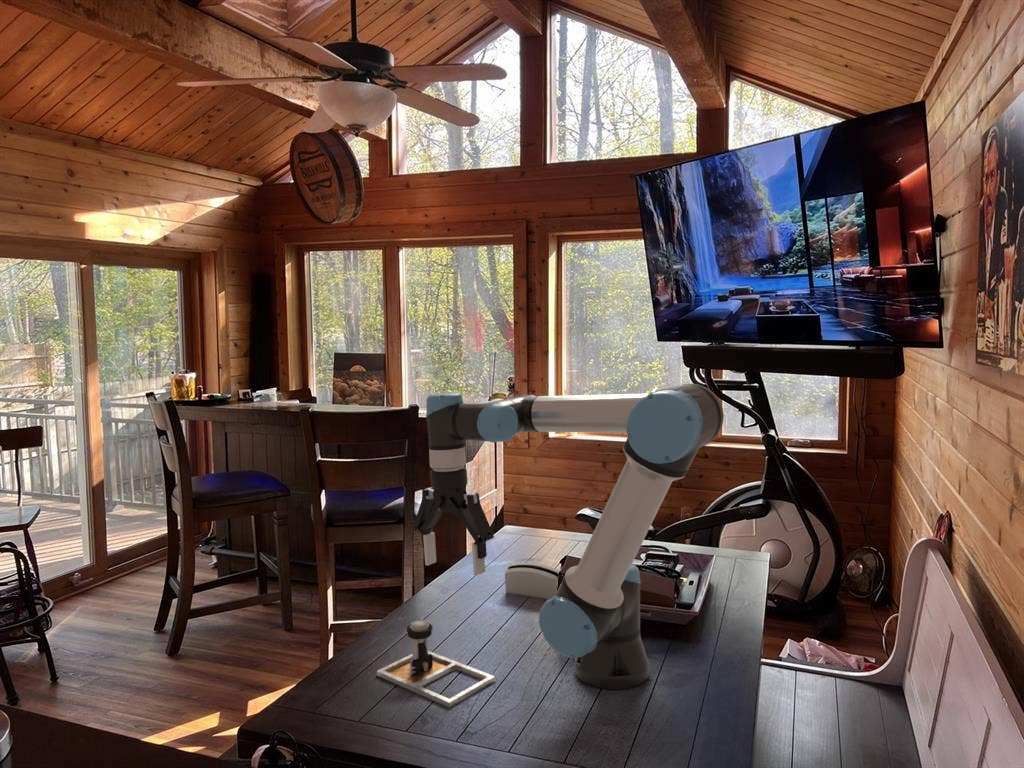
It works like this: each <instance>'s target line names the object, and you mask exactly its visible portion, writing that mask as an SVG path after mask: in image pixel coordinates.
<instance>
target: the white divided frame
mask: <svg viewBox="0 0 1024 768" xmlns="http://www.w3.org/2000/svg"><path fill="white" fill-rule="evenodd" d="M428 654H431V655H432V659H433V666H432V667H431V668H430V667H429V668H428V670H426V671H422V672H420V673H419V674H415V673H413V674H411V673H409V672H410V671H408V670H407V669H409V668H410V660H411V659H413V653H411V654H409V655H406V656H405V657H403V658H401V659H398V660H396V661H394V662H393V663H390V664H388V665H386V666H384V667H382V668H380V669H378V670H376V676H377V677H379V678H382V679H383V680H386V681H388V682H390V683H393V684H395V685H398V686H400V687H402V688H404V689H407V690H408V691H411V692H413V693H416V694H418V695H420V696H422V697H425V698H427V699H429V700H432V701H434V702H436V703H438V704H440V705H442V706H445V707H447V708H451V707H454V706H455V705H456V704H459V703H460V702H462V701H464V700H465V699H467V698H468V697H470V696H472V695H474V694H475V693H478V692H479V691H481V690H482V689H484V688H486V687H487V686H489V685H491V684H493V683H494V682H496V677H495V676H494V675H492V674H490V673H487V672H484V671H482V670H479V669H477V668H474V667H471V666H469V665H467V664H463V663H461V662H458V661H456V660H454V659H451V658H448V657H446V656H443V655H441V654H438V653H435V652H432V651H430V650H428ZM409 670H410V669H409ZM455 670H458V671H460V672H463V673H465V674H467V675H470V676H473V677H475V678H477V679H480V681H478V682H477V683H475V684H473V685H471V686H470V687H467V688H465V690H462V691H460V692H459V693H457V694H455V695H453V696H451V697H450V698H449V697H446V696H444V695H441V694H439V693H437V692H435V691H432V690H430V689H427V688H425V686H427V685H429V684H430V683H432V682H434V681H436V680H438V679H439V678H442V677H444V676H445V675H446V676H447V675H448V674H449V673H451V672H453V671H455ZM407 673H409V674H411V675H408V674H407Z"/></svg>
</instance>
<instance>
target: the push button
mask: <svg viewBox="0 0 1024 768" xmlns="http://www.w3.org/2000/svg"><path fill="white" fill-rule="evenodd" d="M406 632H407V637H408V638H410V639H412V654H413V659H411V660H410V668H409V669H410V670H409V669H407V670H408V671H410V672H409V673H411V674H413V673H415V674H419V673H420V672H422V671H426V670H428V668H429V667H430V668H431V667H432V666H433V661H434V660H433V659H432V655H431V654H428V651H429V650H428V638H429V637H430V636H432V633H433V625H432V624H430V623H429V621H428V620H426V619H415V620H413V621H411V622H410V624H409V625H408V626H407V627H406ZM409 673H407V674H408V675H411V674H409Z"/></svg>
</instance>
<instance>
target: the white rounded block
mask: <svg viewBox="0 0 1024 768" xmlns="http://www.w3.org/2000/svg"><path fill="white" fill-rule="evenodd" d="M559 572H560V570H559V569H556V568H554V567H552V566H549V565H546V564H543V563H537V562H536V563H535V562H514V563H511V564H510V565H509V566H508V567H507V569H506V570H505V572H504V583H505V584H504V585H505V593H506V594H513V595H518V596H520V595H521V596H526V597H532V598H539V599H545V600H548V599H549V598H551V597H554V595H555V594H556V592H557V586H558V576H559Z"/></svg>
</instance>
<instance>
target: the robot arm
mask: <svg viewBox="0 0 1024 768" xmlns="http://www.w3.org/2000/svg"><path fill="white" fill-rule="evenodd" d="M724 416H725V415H724V408H723V405H722V402H721V401H720V399H719V398H718V396H717V395H716V394H715V393H714V392H713V391H712V390H711V389H709V388H708V387H706V386H704V385H701V384H698V383H684V384H680V385H675V386H672V387H670V386H669V387H668V386H667V387H655V388H654V389H653V390H652V391H651V392H649V393H619V394H618V393H616V394H615V393H614V394H579V395H577V394H573V395H572V394H571V395H539V396H536V395H534V394H521V395H518V396H514V397H510V398H507V399H505V398H504V399H500V400H495V401H490V402H489V401H488V402H482V403H467V402H466V403H465V402H464V400H463V395H462V394H461V393H460V392H441V393H440V392H439V393H433V394H430V395H428V396H427V398H426V415H425V418H426V426H427V433H428V434H427V435H428V452H429V455H428V456H429V457H428V458H429V467H430V468H431V470H430V473H429V474H430V486H431V487H426V488H424V489H422V490H421V502H420V504H419V508H418V511H417V514H416V518H415V520H414V523H413V530H414V531H418V532H419V533H420V534H421V546H422V549H423V551H424V565H425V566H427V567H428V566H430V565H432V564H435V563H437V550H436V549H437V548H436V533H435V532H433V531H434V529H433V528H434V527H435V526H436V525H437V523H438V521H439V519H440V518H441V516H442V515H443V514H445V513H449V514H452V515H455V516H456V517H457V518H459V519H460V520H461V522H462V524H463V525H464V527H465V529H466V530H467V531H468V532H469V534H470V536H471V537H472V540H473V541H474V542H471V548H472V549H471V550H472V565H473V576H479V575H482V574H484V573H485V572H486V563H485V562H486V561H485V558H486V557H487V556H488V555H487V541H489V540H492V539H494V538H495V535H494V532H493V530H492V528H491V526H490V522H489V521H488V518H487V516H486V513H485V511H484V509H483V506H482V504H481V500H480V494H479V493H478V492H477V491H476V492H473V493H467V490H466V487H467V485H468V469H467V468H466V467H465V466H466V465H467V456H466V441H472V442H473V441H476V442H477V441H478V442H490V443H494V444H495V443H498V442H499V443H502V442H503V443H504V442H509V441H510V440H512V439H513V437H514V436H515V435H517V434H519V433H622V434H623V433H624V434H626V435H627V438H626V440H625V441H624V442H625V443H624V445H623V447H622V449H623V453H624V454H625V457H626V461H625V464H624V466H623V468H622V470H621V472H620V475H619V477H618V478H617V481H616V482H615V485H614V487H613V489H612V492H611V493H610V496H609V498H608V500H607V502H606V505H605V507H604V509H603V511H602V513H601V515H600V518H599V520H598V522H597V524H596V527H595V528H594V530H593V533H592V535H591V537H590V539H589V541H588V543H587V546H586V547H585V550H584V552H583V554H582V556H581V558H580V560H579V562H578V564H577V565H574V566H570V567H569V568H568V569H567V570H566V572H565V574H564V576H563V580H562V582H561V584H560V586H559V588H558V590H557V592H556V594H555V595H554V597H551V598H549V599H546V601H545V602H544V604H543V605H542V606H541V608H540V611H539V614H538V623H539V624H538V625H539V629H540V631H541V632H542V636H543V638H544V640H545V641H546V642H547V644H548V645H549V646H550V648H551V649H553V650H554V651H555V652H557V654H560V655H561V656H564V657H566V658H572V659H573V658H574V673H575V675H576V677H577V678H578V680H580V681H581V682H583V683H585V684H587V685H588V686H592V687H595V688H599V689H604V690H625V689H631V688H633V687H637V686H640V685H642V684H643V683H645V682H646V681H647V679H648V678H649V677H650V661H649V659H648V657H647V653H646V650H645V646H644V644H643V640H642V638H641V584H642V582H641V576H640V569H639V568H638V567H637V565H635V564H633V562H634V560H635V559H636V556H637V555H638V553H639V550H640V548H641V546H642V544H643V543H644V540H645V538H646V536H647V535H648V532H649V529H650V527H651V526H652V524H653V522H654V520H655V518H656V515H657V513H658V511H659V509H660V507H661V505H662V503H663V501H664V499H665V497H666V496H667V493H668V491H669V489H670V486H671V485H672V483H673V482H674V481H678V480H682V479H683V478H685V476H686V475H687V473H688V471H689V469H690V467H691V465H692V463H693V461H694V459H695V458H696V455H697V453H698V451H699V449H700V448H702V447H704V446H706V445H708V444H709V443H711V442H712V441H713V440H715V439H716V438H717V436H718V435H719V433H720V432H721V429H722V428H723V425H724V420H725V419H724V418H725V417H724ZM434 500H435V502H434ZM433 503H434V504H433ZM432 505H433V506H432Z"/></svg>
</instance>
